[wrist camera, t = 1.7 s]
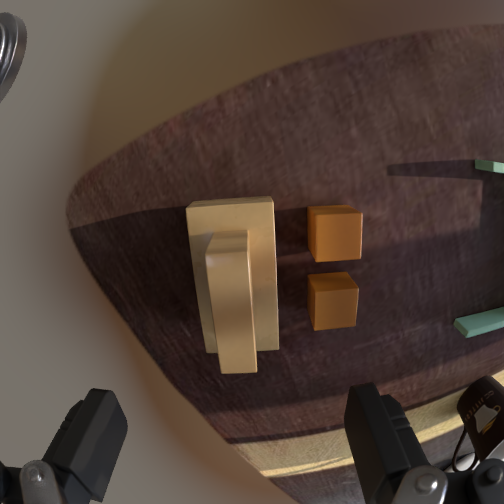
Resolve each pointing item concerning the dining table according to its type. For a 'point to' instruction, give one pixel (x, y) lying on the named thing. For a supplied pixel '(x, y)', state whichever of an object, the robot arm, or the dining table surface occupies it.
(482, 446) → the coffee mug
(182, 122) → the dining table surface
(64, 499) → the robot arm
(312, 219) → the crumb
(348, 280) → the crumb
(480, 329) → the green u-shaped pusher
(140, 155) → the dining table surface
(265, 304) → the stepped wooden block
